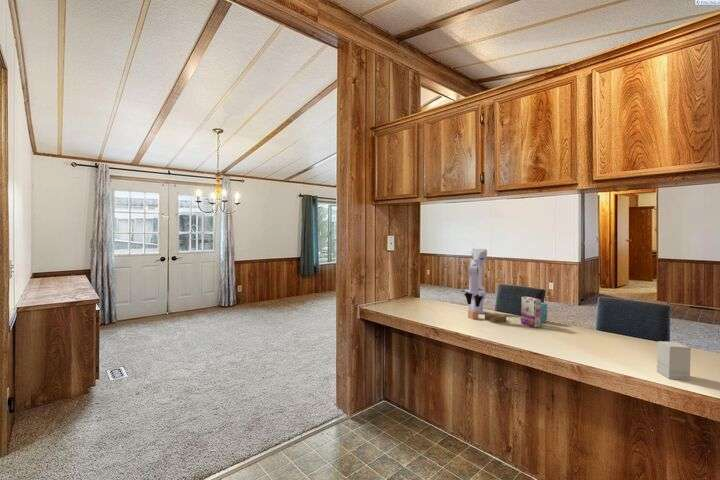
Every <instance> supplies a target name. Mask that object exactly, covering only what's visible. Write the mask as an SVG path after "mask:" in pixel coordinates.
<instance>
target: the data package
mask: <svg viewBox="0 0 720 480" xmlns="http://www.w3.org/2000/svg"><path fill="white" fill-rule="evenodd" d="M547 321H548V304H547V303H546V302H542V301H541V324H543V323H546V322H547Z"/></svg>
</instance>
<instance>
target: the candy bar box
mask: <svg viewBox="0 0 720 480" xmlns="http://www.w3.org/2000/svg"><path fill="white" fill-rule="evenodd" d="M541 302H542V299H539V298H537V297H532V296H521V303H520V304H521V305H520V310H521V311H520V323H521V324H523V325H525V326H528V327H530V328H531V327H532V328H541V326H542V325H541V324H542V323H541Z"/></svg>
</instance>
